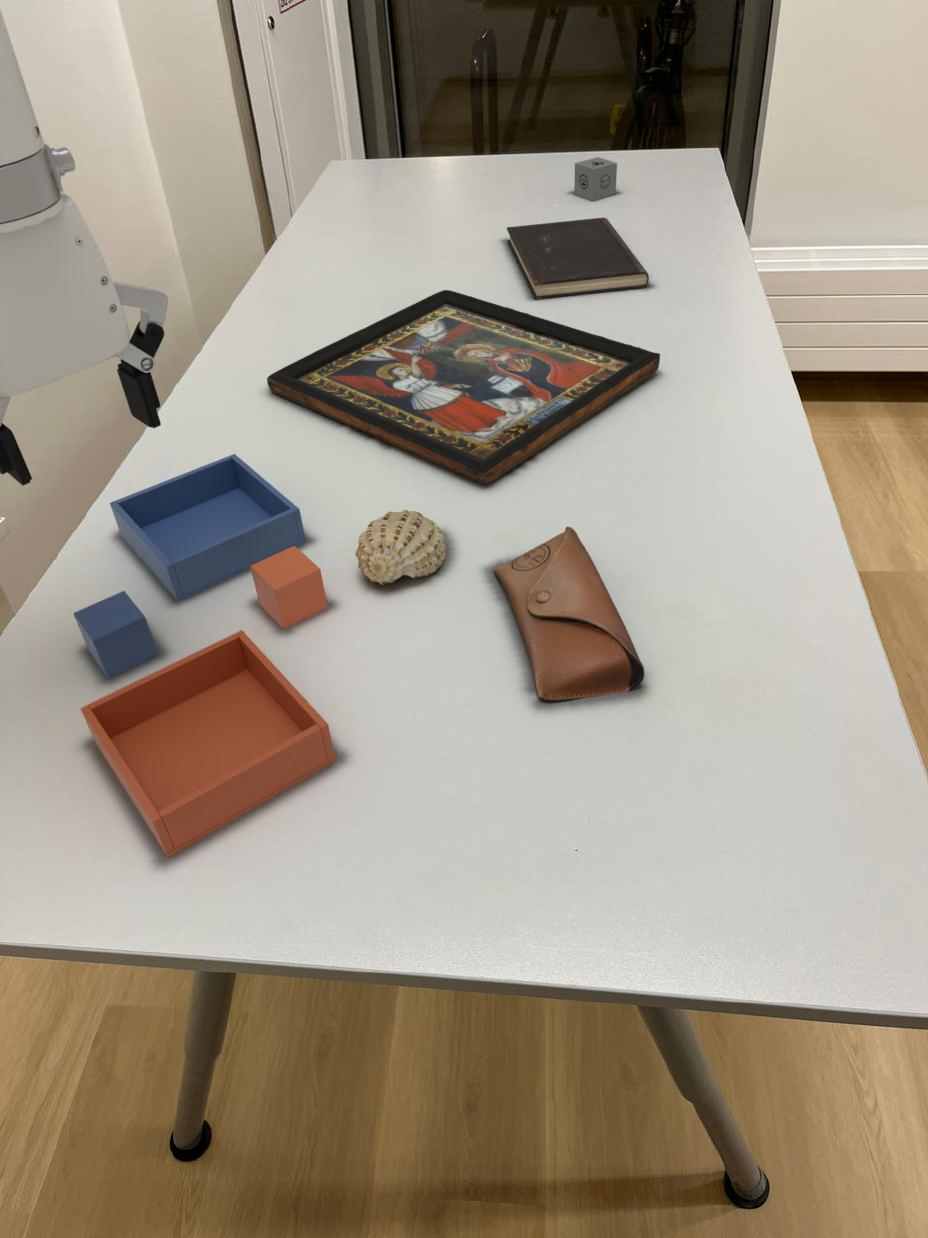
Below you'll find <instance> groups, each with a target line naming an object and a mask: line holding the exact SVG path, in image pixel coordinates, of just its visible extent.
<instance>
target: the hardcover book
mask: <svg viewBox="0 0 928 1238" xmlns="http://www.w3.org/2000/svg"><path fill="white" fill-rule="evenodd" d="M506 231H507V232H508V235H509V239H507V240H506V242H507V244H508V247H509V249H510V251H511V254H512V255H513V257H514V259H515V261H516V263H517V266H518V268H519V270H520V272H521V274H522V276H523V278H524V281H525V282H526V285H527V287H528V289H529V291H530V293H531V296H532V297H533V299H534V300H542V299H552V298H562V297H563V298H564V297H571V296H583V295H591V294H601V293H610V292H618V291H619V292H620V291H627V290H638V289H644V288H646V287H647V286H648V284H649V277H650V276H649V273H648V272H647V270H646V269H645V268H644V266H643V265H642V264H641V262H640V261H639V260H638V258H637V257H636V256H635V254H634V253H633V252H632V250H631V249H630V248H629V246H628V245H627V243H626V242H625V241H624V240H623V238H622V236H621V235H620V234H619V233H618V231H617V230H616V229H615V228H614V226H613V225H612V224H611V222H610V221H609V219H608V218H606V217H596V218H585V219H575V220H566V221H554V222H545V223H537V224H527V225H525V224H524V225H515V226H507V227H506Z"/></svg>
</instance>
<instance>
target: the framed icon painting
mask: <svg viewBox="0 0 928 1238" xmlns="http://www.w3.org/2000/svg"><path fill="white" fill-rule="evenodd" d="M660 360H661V353H658V352H653V351H650V350H648V349H644V348H641V347H638V346H633V345H632V344H627V343H624V342H621V341H618V340H617V341H616V340H613V339H610V338H607V337H604V336H601V335H597V334H594V333H590V332H587V331H584V330H580V329H577V328H574V327H572V326H568V325H565V324H561V323H558V322H555V321H552V320H549V319H545V318H543V317H542V318H541V317H538V316H535V315H533V314H530V313H527V312H523V311H520V310H516V309H514V308H511V307H507V306H503V305H500V304H496V303H494V302H490V301H486V300H483V299H480V298H477V297H473V296H470V295H467V294H464V293H461V292H457V291H454V290H449V289H444V290H441V291H438V292H436V293H433V294H431V295H429V296H427V297H425V298H423V299H421V300H419V301H417V302H415V303H412V304H411V305H409V306H407V307H404V308H402V309H401V310H398V311H396V312H394V313H393V314H390V315H388V316H386V317H384V318H382V319H380V320H378V321H375V322H374V323H372V324H369V325H368V326H366V327H364V328H362V329H359V330H357V331H355V332H353V333H351V334H349V335H347V336H344V337H342V338H340V339H339V340H337V341H334V342H332V343H330V344H328V345H326V346H324V347H322V348H319V349H318V350H315V351H313V352H312V353H310V354H308V355H305V356H303V357H302V358H299V359H298V360H296V361H294V362H292V363H290V364H288V365H286V366H284V367H282V368H280V369H279V370H277V371H275V372H273V373H271V374H269V375H268V376H267V378H266V383H267V386H268V389H269V390H270V391H271V392H273V394H277V395H279V396H280V397H283V398H285V399H288V400H290V401H292V402H294V403H297V404H299V405H301V406H304V407H305V408H308V409H310V410H313V411H314V412H317V413H320V414H322V415H324V416H327V417H328V418H331V419H333V420H335V421H338V422H340V423H343V424H345V425H348V426H349V427H352V428H354V429H356V430H358V431H361V432H363V433H366V434H368V435H371V436H372V437H374V438H377V439H379V440H381V441H384V442H386V443H388V444H391V445H392V446H395V447H397V448H401V449H403V450H405V451H407V452H409V453H411V454H414V455H416V456H418V457H420V458H422V459H425V460H427V461H430V462H433V463H435V464H437V465H439V466H441V467H443V468H446V469H448V470H450V471H453V472H454V473H457V474H459V475H462V476H464V477H465V478H468V479H470V480H473V481H475V482H476V483H477V482H478V483H480V484H484V485H485V484H489V483H491V482H493V481H495V480H497V479H498V478H500V477H502V476H503V475H504V474H506V473H508V472H509V471H511V470H513V468H515V467H517V466H518V465H520V464H521V463H523V462H524V461H527V459H529V458H530V457H532V456H533V455H535V454H537V452H540V451H541V450H543V449H544V448H546V447H547V446H548V445H550V444H552V442H554V441H555V440H557V439H559V438H560V437H561V436H563V435H564V434H565V433H567V432H569V431H570V430H571V429H573V428H575V427H577V426H578V425H579V424H581V423H582V422H584V421H585V420H587V419H588V418H590V417H591V416H593V415H594V414H595V413H597V412H599V411H600V410H602V409H603V408H605V407H606V406H608V405H609V404H610V403H612V402H613V401H615V400H616V399H617V398H618V397H621V396H622V395H624V394H625V393H626V392H628V391H629V390H630V391H631V389H633V388H634V387H635V386H637V385H639V384H640V383H642V382H643V381H645V380H646V379H648V378H649V377H651V376H652V375H654V374H655V373H656V372H657V371H658V370H659V367H660V362H661V361H660Z"/></svg>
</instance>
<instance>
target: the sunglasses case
mask: <svg viewBox="0 0 928 1238" xmlns="http://www.w3.org/2000/svg"><path fill="white" fill-rule="evenodd" d="M492 571H493V573H494V575H495V577H496V579H497V580H498V582H499V584H500V585H501V587H502V589H503V590H504V593H505V596H506V597H507V599H508V602H509V604H510V606H511V608H512V612H513V614H514V617H515V621H516V622H517V623H516V624H517V625H518V629H519V632H520V635H521V637H522V640H523V644H524V646H525V649H526V653H527V655H528V658H529V662H530V666H531V671H532V674H533V678H534V684H535V685H534V686H535V690H536V695H537V697H538V698H539V699H541V700H543V701H547V702H567V701H578V700H582V699H588V698H589V699H590V698H597V697H602V696H607V695H614V694H619V693H620V694H622V693H629V692H632V691H634V690H635V689H637V688H638V687H639V686H640V684H641V683H642V682H643V680H644V677H645V668H644V665H643V663H642V661H641V658H640V657H639V654H638V652H637V649H636V648H635V645H634V643H633V640H632V638H631V636H630V634H629V631H628V629H627V627H626V625H625V623H624V621H623V619H622V617H621V614H620V612H619V611H618V608H617V606H616V605H615V602H614V600H613V598H612V596H611V595H610V594H611V593H610V592H609V590H608V589H607V586H606V584H605V583H604V580H603V579H602V576H601V575H600V573H599V571H598V568H597V567H596V565H595V563H594V561H593V559H592V557H591V555H590V554H589V552H588V550H587V549H586V547H585V545H584V544H583V542H582V540H581V539H580V537H579V535H578V533H577V532H576V530H575V529H574V528H573V527H571V526H566V527H565V529H564V531H563V532H561V533H558V534H557V535H555V536H554V537H552V538H550V539H548V540H546V541H545V542H543V543H541V544H539V545H538V546H535V547H534V548H531V549H530V550H528V551H527V552H524V553H523V554H521V555H519V556H517V557H515V558H513V559H512V560H510V561H508V562H506V563H505V564H504V565H498V566H497V565H496V566H495V567H493V569H492Z"/></svg>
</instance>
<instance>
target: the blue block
mask: <svg viewBox="0 0 928 1238" xmlns="http://www.w3.org/2000/svg"><path fill="white" fill-rule="evenodd" d="M73 617H74V619H75V621H76V623H77V626H78V628H79V631H80V633H81V635H82V637H83V640H84V643H85V645H86V647H87V649H88V651H89V652H88V653H89V654H90V655H91V657H92V658H93V659H94V661H95V662H96V664H97V665H98V666H99V668H100V669H101V671H102V672H103V674H104V675H105V677H106V678H107V679H108V680H111V679H113V678H115V677H117V676H119V675H121V674H123V673H125V672H128V671H130V670H132V669H134V668H137V667H138V666H140V665H142V664H144V663H146V662H149V661H150V660H153V659H154V658H156V657H159V656H160V654H159V651H158V649H157V646H156V642H155V640H154V637H153V635H152V632H151V629H150V626H149V623H148V621H147V618H146V616H145V614H143V612H142V611H141V610H140V608H139V607H138V606H137V605H136V603H135V602H134V601H133V599H131V597H130V596H129V595H128V593H127V592H126V591H125V590H123V591H120V592H118V593H116V594H113V595H111V596H109V597H106V598H104V599H102V600H100V601H98V602H95V603H93V604H91V605H88V606H86V607H84V608H81V609H79V610H76V611H75V612H73Z"/></svg>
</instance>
